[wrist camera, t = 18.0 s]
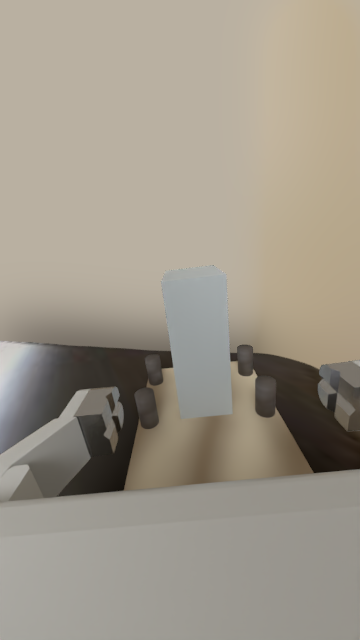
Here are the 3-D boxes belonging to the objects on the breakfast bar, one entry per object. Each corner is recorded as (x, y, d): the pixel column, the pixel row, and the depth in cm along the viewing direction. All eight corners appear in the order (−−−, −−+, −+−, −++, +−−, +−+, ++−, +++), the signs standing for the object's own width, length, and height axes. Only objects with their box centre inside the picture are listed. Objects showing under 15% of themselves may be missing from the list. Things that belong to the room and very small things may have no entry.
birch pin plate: (124, 518, 14) (109, 469, 13) (151, 378, 28) (146, 348, 27) (320, 502, 14) (328, 450, 12) (248, 368, 28) (247, 337, 26)
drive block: (180, 419, 19) (161, 281, 16) (180, 379, 25) (165, 270, 21) (232, 414, 19) (226, 274, 15) (220, 374, 25) (213, 265, 21)
